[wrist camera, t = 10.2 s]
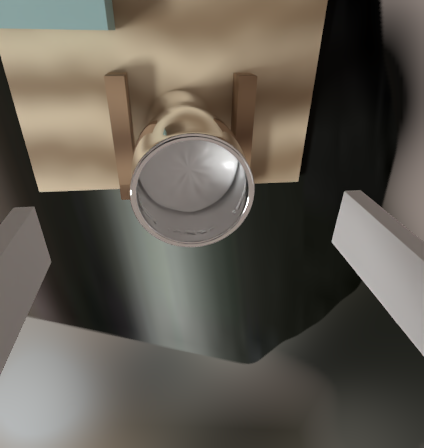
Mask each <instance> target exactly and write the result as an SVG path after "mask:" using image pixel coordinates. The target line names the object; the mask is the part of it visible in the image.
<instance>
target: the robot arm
mask: <svg viewBox="0 0 424 448" xmlns="http://www.w3.org/2000/svg"><path fill="white" fill-rule="evenodd" d="M332 243H333V244H334V245H335V247H336V248H337V249H338V250H339V252H340V253H341V254H342V255H343V257H344V258H345V259H346V260H347V261H348V263H349V264H350V265H351V266H352V268H353V269H354V270H355V271H356V273H357V274H358V275H359V276H360V278H361V279H362V280H363V281H364V282H365V284H366V285H367V286H368V288H369V289H370V290H371V291H372V293H373V294H374V295H375V296H376V297H377V299H378V300H379V301H380V302H381V304H382V305H383V306H384V307H385V309H386V310H387V311H388V312H389V314H390V315H391V316H392V317H393V319H394V320H395V321H396V322H397V323H398V325H399V326H400V327H401V328H402V330H403V331H404V332H405V333H406V334H407V336H408V337H409V338H410V340H411V341H412V342H413V343H414V345H415V346H416V347H417V348H418V349H419V351H420V352H421V353H422V354H423V356H424V242H423V241H422V240H421V239H420V238H418V237H417V236H416V235H415V234H413V233H412V232H411V231H410V230H408V229H407V228H406V227H405V226H404V225H402V224H401V223H400V222H399V221H398V220H396V219H395V218H394V217H393V216H391V215H390V214H388V212H386V211H385V210H384V209H383V208H381V207H380V206H379V205H378V204H377V203H375V202H374V201H373V200H372V199H370V198H369V197H368V196H367V195H365V194H364V193H363V192H362V191H361V190H357V191H344V195H343V199H342V203H341V207H340V211H339V215H338V218H337V222H336V226H335V230H334V234H333V238H332ZM50 263H51V260H50V256H49V253H48V250H47V247H46V243H45V240H44V237H43V234H42V230H41V227H40V224H39V220H38V217H37V214H36V211H35V207H19V208H13V209H12V210H11V212H10V213H9V214H8V215H7V217H6V218H5V219H4V221H3V222H2V223H1V224H0V374H1V372H2V370H3V368H4V366H5V363H6V361H7V359H8V356H9V354H10V352H11V350H12V348H13V345H14V343H15V341H16V339H17V337H18V334H19V332H20V330H21V328H22V325H23V323H24V321H25V319H26V317H27V314H28V312H29V310H30V308H31V306H32V303H33V301H34V299H35V297H36V294H37V292H38V290H39V288H40V286H41V283H42V281H43V279H44V277H45V275H46V272H47V270H48V268H49V266H50Z"/></svg>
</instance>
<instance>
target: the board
mask: <svg viewBox="0 0 424 448" xmlns="http://www.w3.org/2000/svg"><path fill="white" fill-rule="evenodd" d="M327 2H328V0H112V5H113V14H114V22H115V30H63V29H5V28H0V55H1V59H2V63H3V66H4V70H5V73H6V77H7V80H8V84H9V87H10V91H11V94H12V98H13V101H14V105H15V108H16V112H17V115H18V119H19V122H20V126H21V129H22V133H23V136H24V140H25V143H26V147H27V150H28V154H29V157H30V161H31V164H32V168H33V172H34V175H35V179H36V182H37V186H38V189H39V192H51V191H76V190H101V189H120V192H121V199H122V200H128V199H130V182H131V162H132V156H133V151H134V148H135V145H136V142H137V139H138V137H139V135H140V133H141V131H142V130H143V128H144V127H145V126H146V125H147V116H148V112H149V110H150V108H151V106H152V104H153V103H154V102H155V101H156V100H157V99H158V98H159V97H160V96H162V95H163V94H165V93H167V92H170V91H174V90H185V91H189V92H192V93H194V94H196V95H198V96H199V97H201V98H202V99H203V100H204V101H205V102H206V103H207V105H208V106H209V108H210V110H211V113H212V114H214V115H216V116H217V117H218V118H220V119H221V120H222V121H223V122H224V123H225V124H226V125H227V126H228V128H229V129H230V130H231V131H232V133H233V134H234V135H235V137H236V139H237V141H238V142H239V144H240V146H241V148H242V150H243V153H244V155H245V158H246V160H247V162H248V164H249V166H250V168H251V171H252V174H253V178H254V183H277V182H298V179H299V173H300V167H301V161H302V155H303V148H304V142H305V136H306V130H307V124H308V118H309V112H310V106H311V100H312V93H313V87H314V81H315V75H316V69H317V63H318V57H319V51H320V44H321V38H322V32H323V26H324V20H325V14H326V8H327Z"/></svg>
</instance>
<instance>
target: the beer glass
mask: <svg viewBox="0 0 424 448" xmlns="http://www.w3.org/2000/svg"><path fill="white" fill-rule="evenodd" d="M254 190H255V187H254V178H253V174H252V171H251V168H250V166H249V164H248V162H247V160H246V158H245V155H244V153H243V150H242V148H241V146H240V144H239V142H238V141H237V139H236V137H235V135H234V134H233V133H232V131H231V130H230V129H229V128H228V126H227V125H226V124H225V123H224V122H223V121H222V120H221V119H220V118H218V117H217V116H216V115H214V114H212V113H211V110H210V108H209V106H208V105H207V103H206V102H205V101H204V100H203V99H202V98H201V97H199V96H198V95H196V94H194V93H192V92H189V91H185V90H174V91H170V92H167V93H165V94H163V95H162V96H160V97H159V98H158V99H157V100H156V101H155V102H154V103H153V104H152V106H151V108H150V110H149V112H148V116H147V125H146V126H145V127H144V128H143V130H142V131H141V133H140V135H139V137H138V139H137V142H136V145H135V148H134V151H133V156H132V162H131V182H130V201H131V206H132V209H133V211H134V214H135V216H136V218H137V219H138V221H139V222H140V224H141V225H142V226H143V227H144V228H145V229H146V230H147V231H148V232H149V233H150V234H151V235H153V236H154V237H156V238H157V239H159V240H161V241H163V242H166V243H168V244H171V245H175V246H181V247H200V246H205V245H209V244H212V243H215V242H218V241H220V240H222V239H224V238H225V237H227V236H228V235H230V234H231V233H232V232H234V231H235V230H236V229H237V228H238V227H239V226H240V225H241V224H242V222H243V221H244V220H245V218H246V217H247V215H248V213H249V211H250V209H251V206H252V203H253V199H254Z"/></svg>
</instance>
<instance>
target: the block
mask: <svg viewBox="0 0 424 448" xmlns="http://www.w3.org/2000/svg"><path fill="white" fill-rule="evenodd" d="M0 28H5V29H63V30H115V22H114V14H113V5H112V0H0Z"/></svg>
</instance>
